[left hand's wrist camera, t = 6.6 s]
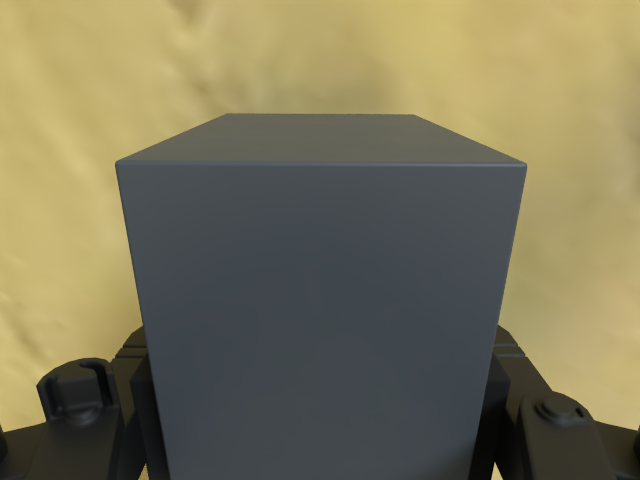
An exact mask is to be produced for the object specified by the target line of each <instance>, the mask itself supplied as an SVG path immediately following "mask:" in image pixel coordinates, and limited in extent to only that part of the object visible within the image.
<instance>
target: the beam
mask: <svg viewBox="0 0 640 480" xmlns="http://www.w3.org/2000/svg"><path fill="white" fill-rule="evenodd" d="M115 168H116V174H117V179H118V185H119V191H120V197H121V202H122V208H123V214H124V219H125V225H126V231H127V236H128V242H129V248H130V254H131V259H132V265H133V271H134V276H135V282H136V288H137V293H138V299H139V305H140V310H141V316H142V322H143V328H144V333H145V339H146V345H147V350H148V356H149V362H150V367H151V373H152V379H153V385H154V390H155V396H156V402H157V407H158V413H159V419H160V424H161V430H162V436H163V441H164V447H165V453H166V459H167V464H168V470H169V476H170V480H468V479H469V473H470V468H471V463H472V458H473V452H474V447H475V442H476V436H477V431H478V426H479V420H480V415H481V410H482V405H483V399H484V394H485V389H486V383H487V378H488V373H489V367H490V362H491V357H492V352H493V346H494V341H495V336H496V330H497V325H498V320H499V314H500V309H501V304H502V299H503V293H504V288H505V283H506V277H507V272H508V267H509V261H510V256H511V251H512V246H513V240H514V235H515V230H516V224H517V219H518V214H519V209H520V203H521V198H522V193H523V187H524V182H525V177H526V171H527V164H526V163H524V162H522V161H519V160H517V159H515V158H512V157H510V156H508V155H506V154H503V153H501V152H499V151H496V150H494V149H492V148H489V147H487V146H485V145H483V144H480V143H478V142H476V141H473V140H471V139H469V138H466V137H464V136H462V135H460V134H457V133H455V132H453V131H450V130H448V129H446V128H443V127H441V126H439V125H436V124H434V123H432V122H430V121H427V120H425V119H423V118H420V117H418V116H416V115H390V114H225V115H223V116H220V117H218V118H216V119H213V120H211V121H209V122H206V123H204V124H202V125H199V126H197V127H195V128H192V129H190V130H188V131H185V132H183V133H181V134H178V135H176V136H174V137H172V138H169V139H167V140H165V141H162V142H160V143H158V144H155V145H153V146H151V147H148V148H146V149H144V150H141V151H139V152H137V153H134V154H132V155H130V156H127V157H125V158H123V159H120V160H118V161H116V163H115Z"/></svg>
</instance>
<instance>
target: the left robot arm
mask: <svg viewBox="0 0 640 480" xmlns="http://www.w3.org/2000/svg"><path fill="white" fill-rule="evenodd" d="M36 387H37V391H38V394H39V397H40V401H41V404H42V407H43V410H44V414H45V417H46V422H45V423H41V424H38V425H34V426H29V427H25V428H21V429H16V430H12V431H8V432H3V430H2V428H1V425H0V480H138V479H139V477H140V475H141V472H142V470H143V468H144V466H145V463H146V466H147V471H148V476H149V480H170V476H169V470H168V464H167V459H166V453H165V447H164V441H163V436H162V430H161V424H160V419H159V413H158V407H157V402H156V396H155V390H154V385H153V379H152V373H151V367H150V362H149V356H148V350H147V345H146V339H145V333H144V328H143V326H142V327H140V328H139V329H137V330H136V331H135V332H133V333H132V334H131V335H130V336H129V338H128V339H127V341H126V342H125V343H124V345H123V348H121V349H120V350H119V351H118V353H117V354H116V355H115V358H113V360H112V361H111V362H110V363H109V362H108V361H107V360H105V359H100V358H82V359H78V360H75V361H71V362H67V363H65V364H63V365H61V366H59V367H57V368H54V369H53V370H52V371H50V372H49V373H48V374H46V375H45V376H43V378H42V379H41V380H40V381H39V383H38V384H37V385H36ZM494 463H496V465H497V467H498V470H499V472H500V474H501V476H502V478H503V480H640V426H639V429H638V431H636V430H631V429H627V428H623V427H618V426H614V425H609V424H605V423H601V422H598V421H595V420H594V419H593V418H592V416H591V415H590V413H589V412H588V410H587V409H586V408H584V407H583V406H582V405H581V404H580V403H578V402H577V401H575V400H574V399H572V398H570V397H568V396H566V395H564V394H561V393H558V392H554V391H552V390H551V388H550V387H549V386H548V384H547V383H546V382H545V380H544V379H543V378H542V376H541V375H540V374H539V372H538V371H537V369H536V368H535V367H534V365H533V364H532V363H531V361H530V360H529V359H528V357H525V353H524V352H523V351H522V349H521V348H520V347H518V344H517V343H516V341H515V340H514V339H513V337H512V336H511V334H510V333H509V332H508V331H506V330H505V329H504V328H502V327H501V326H499V325H497V330H496V336H495V341H494V346H493V352H492V357H491V362H490V367H489V373H488V378H487V383H486V389H485V394H484V399H483V405H482V410H481V415H480V420H479V426H478V431H477V436H476V442H475V447H474V452H473V458H472V463H471V468H470V473H469V479H468V480H491V478H492V473H493V468H494Z"/></svg>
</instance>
